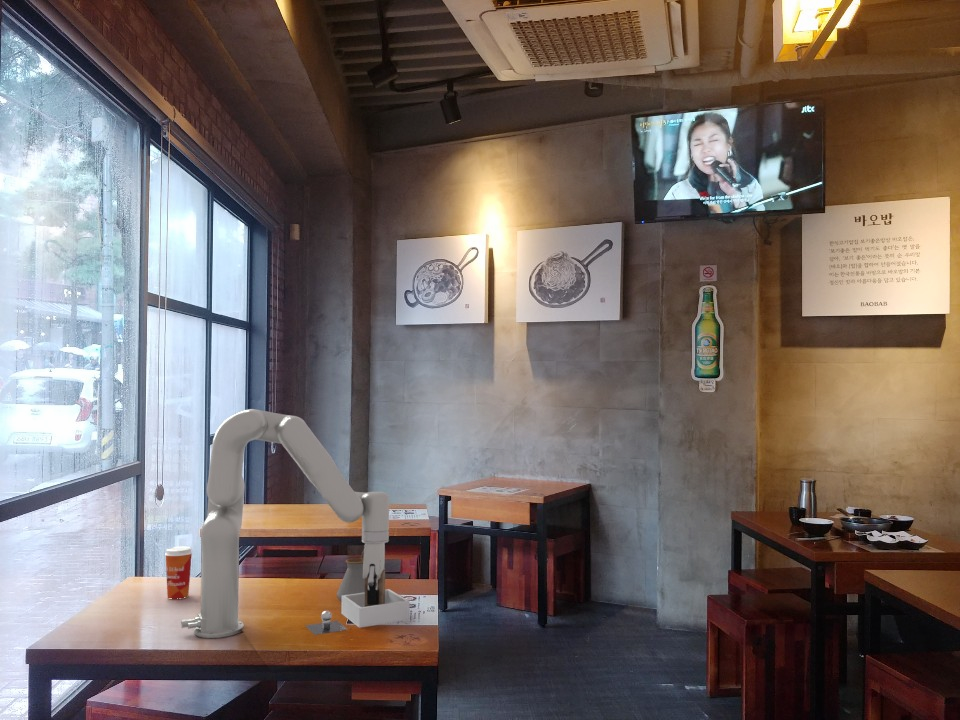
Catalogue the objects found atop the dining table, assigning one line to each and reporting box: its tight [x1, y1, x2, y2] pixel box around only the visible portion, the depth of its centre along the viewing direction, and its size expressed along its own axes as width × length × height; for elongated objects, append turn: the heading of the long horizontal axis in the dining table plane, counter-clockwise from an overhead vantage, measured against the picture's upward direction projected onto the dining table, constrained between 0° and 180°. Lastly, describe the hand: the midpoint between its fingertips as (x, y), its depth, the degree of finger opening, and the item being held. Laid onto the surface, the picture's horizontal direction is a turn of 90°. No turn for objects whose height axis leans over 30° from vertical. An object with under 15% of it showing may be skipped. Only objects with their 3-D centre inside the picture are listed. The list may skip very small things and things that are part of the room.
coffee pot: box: [336, 544, 365, 602], centre depth 231 cm, size 21×12×15 cm, turn 175°
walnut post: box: [365, 569, 386, 607], centre depth 209 cm, size 5×5×11 cm
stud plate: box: [304, 610, 348, 636], centre depth 199 cm, size 9×9×5 cm
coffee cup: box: [164, 545, 194, 600], centre depth 232 cm, size 8×8×15 cm
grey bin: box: [340, 588, 410, 628], centre depth 209 cm, size 15×15×6 cm
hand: (374, 600), depth 209 cm, fingers closed on walnut post, 5 cm apart
